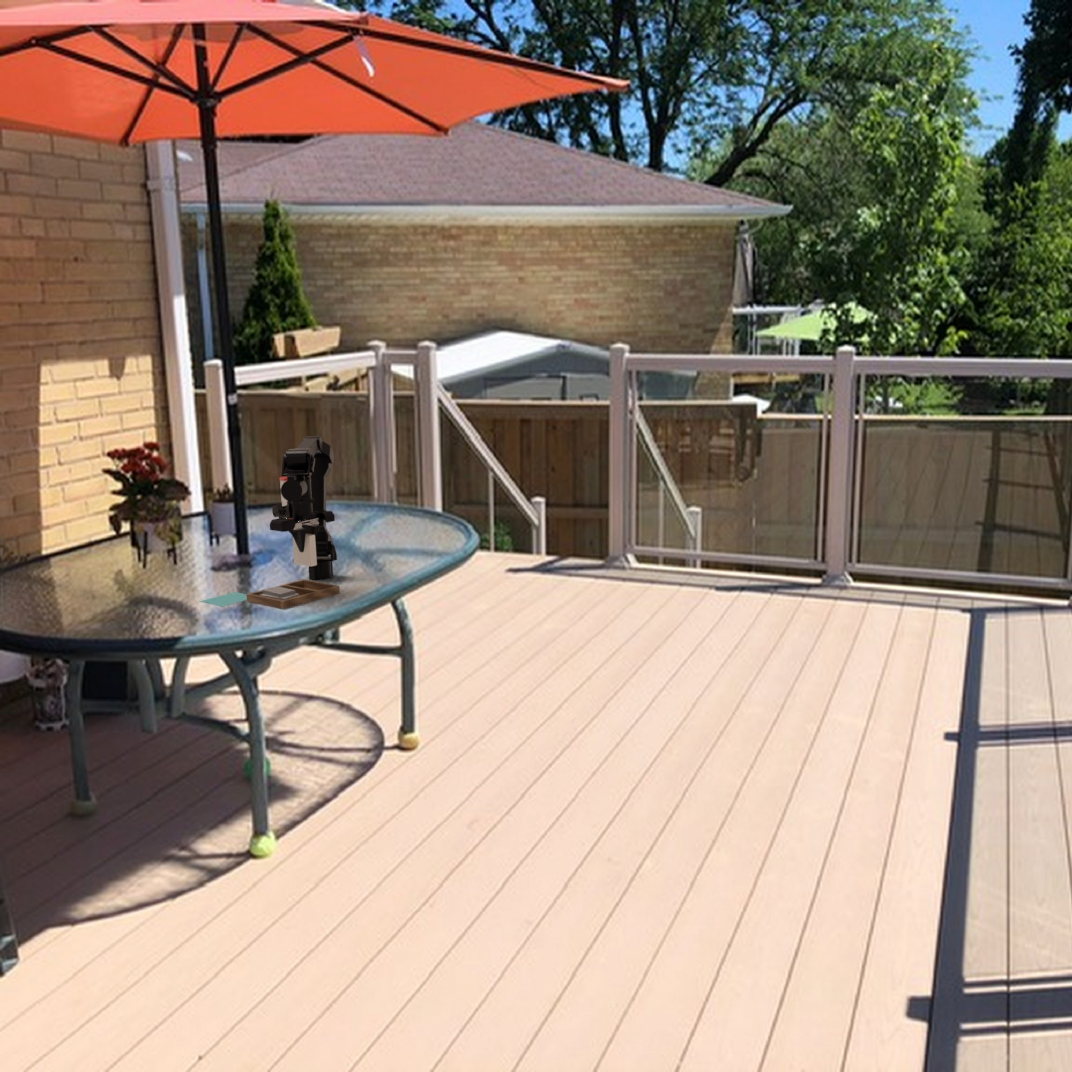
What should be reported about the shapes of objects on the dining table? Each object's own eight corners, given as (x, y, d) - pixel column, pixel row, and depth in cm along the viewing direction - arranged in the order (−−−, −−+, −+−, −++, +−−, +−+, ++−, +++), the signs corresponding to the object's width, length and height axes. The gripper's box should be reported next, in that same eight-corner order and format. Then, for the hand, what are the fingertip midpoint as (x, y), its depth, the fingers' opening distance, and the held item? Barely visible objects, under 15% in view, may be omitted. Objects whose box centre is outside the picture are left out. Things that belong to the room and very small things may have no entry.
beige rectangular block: (299, 562, 309) (297, 532, 307) (316, 565, 305) (314, 534, 303) (294, 563, 307) (292, 533, 306) (311, 566, 303) (309, 536, 301)
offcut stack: (275, 596, 305) (274, 585, 305) (301, 601, 299) (300, 590, 298) (256, 601, 300) (255, 590, 300) (282, 606, 294) (281, 595, 293)
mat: (235, 595, 311) (235, 592, 311) (258, 600, 305) (258, 596, 305) (199, 604, 302) (199, 601, 302) (222, 610, 296) (222, 606, 296)
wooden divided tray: (303, 589, 316) (303, 579, 315) (340, 596, 307) (339, 585, 306) (247, 604, 301) (246, 594, 300) (283, 612, 292) (282, 601, 291)
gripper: (307, 488, 314) (311, 542, 317) (254, 498, 300) (258, 554, 303) (334, 491, 307) (337, 546, 311) (281, 501, 293) (285, 558, 296)
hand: (304, 551), depth 305 cm, fingers closed on beige rectangular block, 2 cm apart
